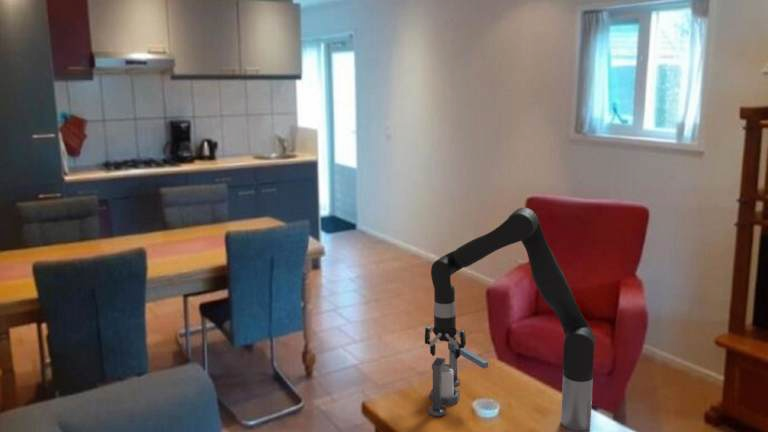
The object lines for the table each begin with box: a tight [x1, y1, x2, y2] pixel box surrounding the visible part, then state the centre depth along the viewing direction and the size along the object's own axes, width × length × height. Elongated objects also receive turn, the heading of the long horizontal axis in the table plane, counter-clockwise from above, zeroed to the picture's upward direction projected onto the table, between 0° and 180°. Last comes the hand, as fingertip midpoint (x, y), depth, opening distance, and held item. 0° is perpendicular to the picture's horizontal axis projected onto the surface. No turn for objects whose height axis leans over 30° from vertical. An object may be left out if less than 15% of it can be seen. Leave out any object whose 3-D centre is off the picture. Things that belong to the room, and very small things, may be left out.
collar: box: [429, 386, 461, 407], centre depth 223 cm, size 10×10×2 cm
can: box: [441, 363, 455, 398], centre depth 222 cm, size 6×6×12 cm
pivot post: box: [448, 349, 461, 387], centre depth 233 cm, size 5×5×14 cm
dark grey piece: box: [427, 357, 447, 418], centre depth 213 cm, size 6×8×18 cm
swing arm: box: [447, 341, 489, 370], centre depth 224 cm, size 21×4×2 cm, turn 30°
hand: (445, 356), depth 220 cm, fingers open, 8 cm apart
